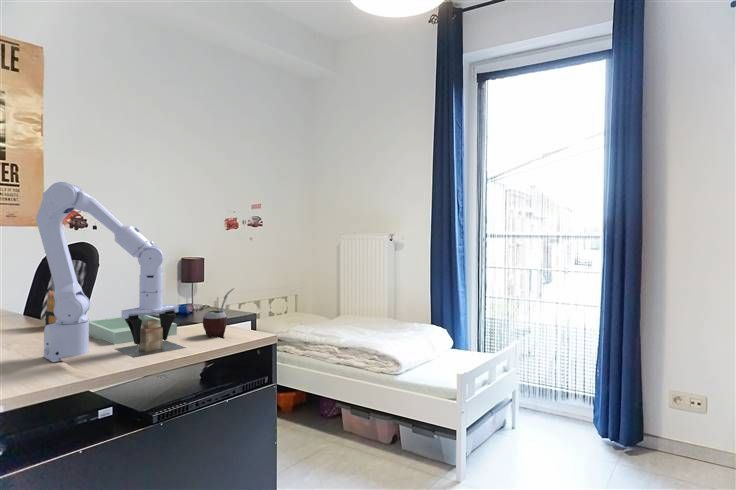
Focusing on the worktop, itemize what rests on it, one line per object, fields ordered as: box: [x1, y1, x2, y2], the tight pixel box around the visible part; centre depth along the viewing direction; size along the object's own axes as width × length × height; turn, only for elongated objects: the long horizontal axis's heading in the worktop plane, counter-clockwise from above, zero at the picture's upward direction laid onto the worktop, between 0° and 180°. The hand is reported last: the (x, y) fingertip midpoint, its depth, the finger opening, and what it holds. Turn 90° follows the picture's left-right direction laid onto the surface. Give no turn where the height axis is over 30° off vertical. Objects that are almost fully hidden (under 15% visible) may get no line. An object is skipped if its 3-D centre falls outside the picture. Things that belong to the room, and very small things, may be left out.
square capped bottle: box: [139, 319, 164, 351], centre depth 129 cm, size 4×4×8 cm
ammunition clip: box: [45, 289, 57, 326], centre depth 155 cm, size 11×2×12 cm, turn 60°
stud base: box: [114, 340, 187, 358], centre depth 129 cm, size 14×12×5 cm
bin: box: [89, 315, 178, 345], centre depth 146 cm, size 18×22×4 cm
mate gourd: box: [202, 287, 235, 339], centre depth 146 cm, size 8×8×15 cm
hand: (150, 341), depth 129 cm, fingers open, 7 cm apart
